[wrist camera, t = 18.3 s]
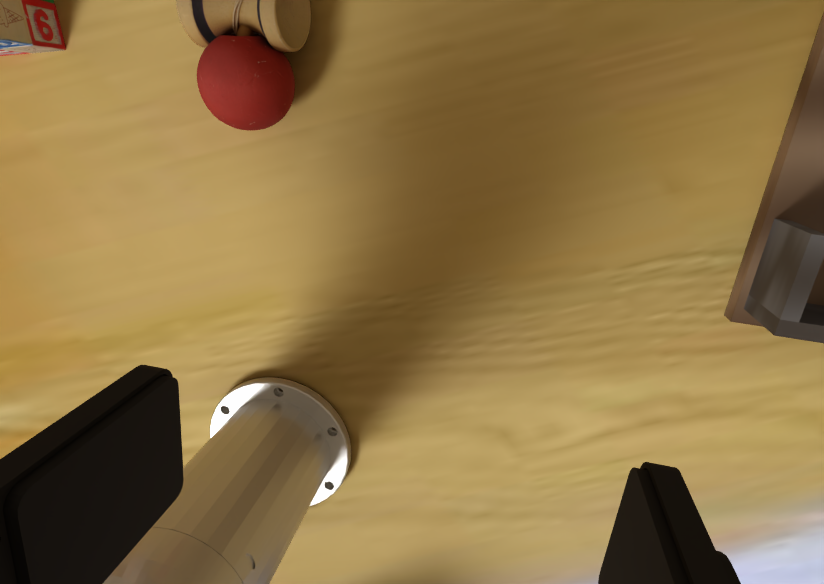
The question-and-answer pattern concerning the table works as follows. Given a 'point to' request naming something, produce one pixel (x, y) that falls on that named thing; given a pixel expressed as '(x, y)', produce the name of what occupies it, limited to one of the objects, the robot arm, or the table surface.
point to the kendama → (246, 56)
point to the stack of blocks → (29, 27)
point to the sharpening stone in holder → (790, 225)
